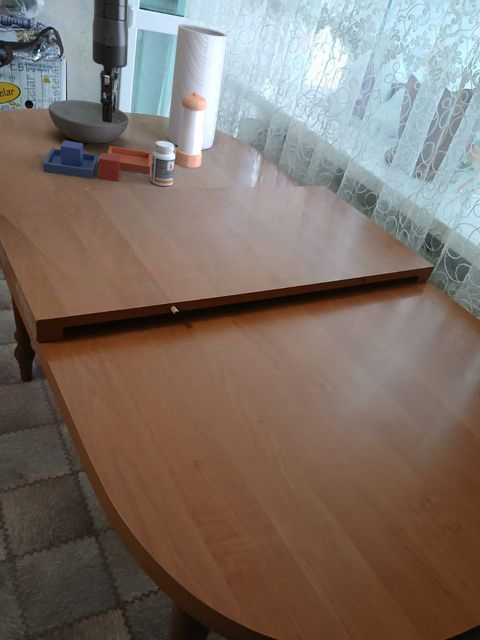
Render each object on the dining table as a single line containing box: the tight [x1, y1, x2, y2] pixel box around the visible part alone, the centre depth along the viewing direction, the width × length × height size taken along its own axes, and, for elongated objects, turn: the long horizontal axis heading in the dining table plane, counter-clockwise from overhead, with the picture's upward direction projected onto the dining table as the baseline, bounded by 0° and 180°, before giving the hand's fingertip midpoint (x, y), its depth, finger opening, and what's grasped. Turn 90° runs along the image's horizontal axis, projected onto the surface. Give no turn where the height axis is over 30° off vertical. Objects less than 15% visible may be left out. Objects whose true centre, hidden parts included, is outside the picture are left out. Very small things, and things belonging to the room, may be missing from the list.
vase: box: [167, 23, 228, 151], centre depth 162 cm, size 14×14×32 cm
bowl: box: [48, 99, 130, 145], centre depth 154 cm, size 21×21×8 cm
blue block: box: [60, 140, 84, 167], centre depth 136 cm, size 5×5×5 cm
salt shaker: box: [175, 92, 208, 169], centre depth 151 cm, size 7×7×19 cm
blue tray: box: [42, 147, 100, 179], centre depth 137 cm, size 12×12×2 cm
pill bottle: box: [150, 140, 176, 187], centre depth 138 cm, size 6×6×10 cm
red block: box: [98, 152, 121, 182], centre depth 136 cm, size 5×5×5 cm
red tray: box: [106, 145, 153, 175], centre depth 147 cm, size 12×12×2 cm
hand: (108, 116), depth 129 cm, fingers open, 8 cm apart
